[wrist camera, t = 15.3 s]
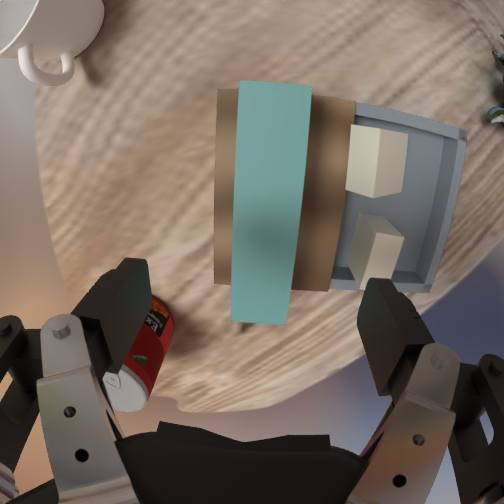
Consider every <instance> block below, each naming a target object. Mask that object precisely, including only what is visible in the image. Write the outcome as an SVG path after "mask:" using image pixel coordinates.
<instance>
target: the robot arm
mask: <svg viewBox="0 0 504 504" xmlns="http://www.w3.org/2000/svg"><path fill="white" fill-rule="evenodd" d="M151 303H152V293H151V286H150V279H149V271H148V264H147V261H146V260H145V259H138V258H125V259H124V260H123V261H122V262H121V263H120V264H119V266H118V267H117V268H116V269H112V270H110V271H109V272H107V273H105V274H104V275H102V276H101V277H100V278H99V279H98V280H97V282H96V283H95V285H94V286H92V288H91V289H90V290H89V293H88V292H87V294H86V295H85V296H84V297H83V299H82V300H81V301H80V302H79V303H78V305H77V306H76V307H75V308H74V310H73V311H72V312H71V314H62V315H57V316H55V317H52V318H51V319H49V320H48V321H47V322H46V323H45V324H44V325H43V326H42V328H41V329H24V326H23V324H22V322H21V320H20V319H19V317H17V316H13V315H9V316H4V317H2V318H0V383H1V381H2V379H3V377H4V376H5V374H6V373H7V371H8V372H9V374H10V375H11V377H12V378H13V381H12V383H11V384H10V386H9V388H8V389H7V391H6V393H5V395H4V397H3V398H2V400H1V402H0V504H424V503H425V501H426V499H427V497H428V495H429V493H430V490H431V488H432V486H433V483H434V481H435V478H436V476H437V473H438V470H439V468H440V465H441V463H442V460H443V457H444V454H445V451H446V448H447V445H448V449H449V452H450V456H451V460H452V464H453V469H454V473H455V477H456V482H457V486H458V491H459V496H460V502H461V504H504V360H503V359H502V358H500V357H498V356H496V355H493V354H486V355H484V356H483V357H482V358H481V359H480V361H479V362H478V364H477V365H471V364H465V363H460V361H459V358H458V356H457V355H456V353H455V352H454V351H453V350H451V349H450V348H449V347H447V346H445V345H442V344H439V343H435V341H434V339H433V338H432V336H431V334H430V332H429V331H428V329H427V327H426V325H425V324H424V322H423V320H422V319H421V317H420V315H419V313H418V312H416V308H415V307H414V305H413V303H412V302H411V300H410V299H408V298H407V297H406V296H405V295H404V294H403V293H401V292H398V291H397V289H396V287H395V286H394V284H393V282H392V281H391V279H389V278H373V277H371V278H369V280H368V282H367V284H366V288H365V291H364V295H363V298H362V301H361V305H360V308H359V311H358V316H357V327H358V330H359V333H360V336H361V340H362V343H363V346H364V349H365V352H366V355H367V358H368V361H369V365H370V368H371V371H372V374H373V378H374V381H375V384H376V388H377V391H378V395H379V396H387V395H391V397H392V402H391V403H390V405H389V407H388V408H387V410H386V412H385V414H384V416H383V418H382V419H381V421H380V423H379V425H378V427H377V428H376V430H375V432H374V434H373V435H372V437H371V439H370V440H369V442H368V444H367V445H366V447H365V448H364V449H363V451H362V452H361V454H360V455H359V456H358V455H356V454H354V453H353V452H350V451H348V450H345V449H341V448H339V447H335V446H330V437H329V435H286V436H281V437H275V438H270V439H264V440H258V441H251V442H240V441H237V440H233V439H230V438H227V437H224V436H221V435H218V434H215V433H213V432H210V431H207V430H204V429H201V428H197V427H190V426H184V425H178V424H172V423H167V422H162V421H160V422H159V425H158V428H157V432H147V433H140V434H135V435H132V436H129V437H125V435H124V433H123V431H122V429H121V426H120V424H119V421H118V419H117V417H116V414H115V411H114V408H113V406H112V403H111V400H110V397H109V395H108V392H107V389H106V386H105V383H104V381H103V377H104V375H105V373H106V372H109V373H113V374H117V375H118V374H119V371H120V369H121V367H122V365H123V363H124V361H125V359H126V357H127V355H128V353H129V351H130V349H131V347H132V345H133V343H134V341H135V339H136V337H137V335H138V333H139V331H140V329H141V327H142V325H143V323H144V321H145V319H146V317H147V315H148V313H149V311H150V308H151ZM485 411H487V414H488V416H489V419H490V421H491V424H492V426H493V430H494V436H493V440H492V442H491V443H490V444H489V445H488V442H487V439H486V436H485V433H484V430H483V428H482V425H481V422H480V419H479V418H480V417H481V416H482V415H483V413H484V412H485ZM39 412H40V416H41V422H42V428H43V433H44V438H45V443H46V448H47V452H48V457H49V461H50V465H51V469H52V472H53V476H54V478H53V479H51V480H49V481H48V482H46V483H44V484H42V485H40V486H38V487H36V488H34V489H32V490H30V491H28V492H26V493H24V494H22V495H20V496H19V490H18V488H17V486H15V479H14V476H13V473H14V471H15V468H16V465H17V463H18V460H19V458H20V455H21V453H22V450H23V448H24V445H25V443H26V441H27V438H28V436H29V434H30V431H31V429H32V427H33V425H34V423H35V421H36V418H37V416H38V414H39Z"/></svg>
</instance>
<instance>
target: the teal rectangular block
mask: <svg viewBox="0 0 504 504" xmlns="http://www.w3.org/2000/svg"><path fill="white" fill-rule="evenodd" d="M311 95H312V86H308V85H299V84H289V83H277V82H262V81H239V96H238V115H237V135H236V157H235V180H234V207H233V237H232V273H231V321H236V322H248V323H262V324H277V325H286V319H287V312H288V306H289V299H290V292H291V285H292V278H293V270H294V263H295V255H296V248H297V240H298V231H299V223H300V215H301V206H302V197H303V187H304V177H305V167H306V157H307V146H308V134H309V122H310V109H311Z"/></svg>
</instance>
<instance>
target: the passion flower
mask: <svg viewBox="0 0 504 504" xmlns="http://www.w3.org/2000/svg"><path fill="white" fill-rule="evenodd" d="M500 36H502V37H503V39H504V35H502V34H501V35H500ZM492 53H494V54H495V55H496V56H498V57H499V60H500V61H501V62H502V64H503V65H504V54H502V53H497V52H493V51H492ZM503 81H504V74H503ZM487 119H488V120H489V121H490V123H494V122H503V127H504V107H501V108H500V107H497V106H496V107H492V108H491V109H489V111H488V113H487Z"/></svg>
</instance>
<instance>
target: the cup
mask: <svg viewBox="0 0 504 504" xmlns="http://www.w3.org/2000/svg"><path fill="white" fill-rule="evenodd" d="M103 19H104V4H103V1H102V0H0V57H3V58H18V59H19V65H20V68H21V70H22V72H23V74H24V75H25V76H26V78H28V79H29V80H31V81H32V82H34V83H37V84H40V85H45V86H60V85H63V84H65V83H67V82H68V81H69V80H70V79H71V78H72V76H73V74H74V70H75V60H74V57H75V56H77V55H78V54H80V53H81V52H82V51H83V50H85V49H86V48H87V47H88V46H89V45H90V44H91V42H92V41H93V40H94V39H95V37H96V36H97V34H98V32H99V30H100V28H101V26H102V23H103ZM34 59H36V60H47V61H62V65H63V73H62V74H50V73H47V72H44V71H42V70H40V69H39V68H37V67H36V65H35V63H34Z"/></svg>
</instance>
